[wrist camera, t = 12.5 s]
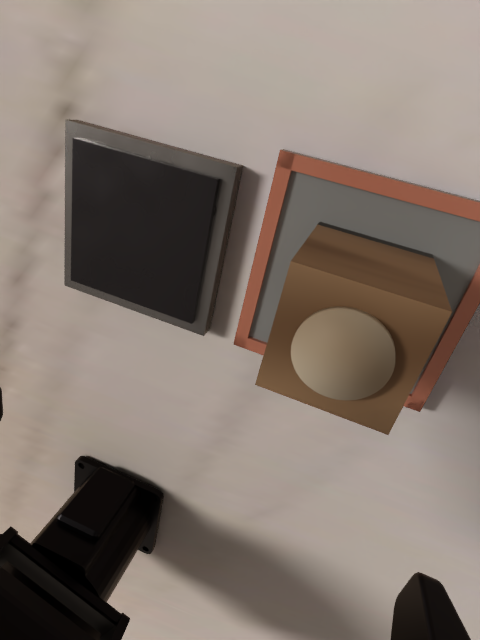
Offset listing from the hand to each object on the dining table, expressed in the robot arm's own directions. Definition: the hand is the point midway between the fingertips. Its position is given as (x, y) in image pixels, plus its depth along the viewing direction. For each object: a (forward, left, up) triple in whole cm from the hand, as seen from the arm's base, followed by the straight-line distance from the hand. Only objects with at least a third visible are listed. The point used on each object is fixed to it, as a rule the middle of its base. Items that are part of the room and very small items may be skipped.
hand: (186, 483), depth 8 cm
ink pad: (0, +8, -12) cm, 14 cm away
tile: (+1, -2, -12) cm, 12 cm away
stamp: (+1, -2, -12) cm, 12 cm away
